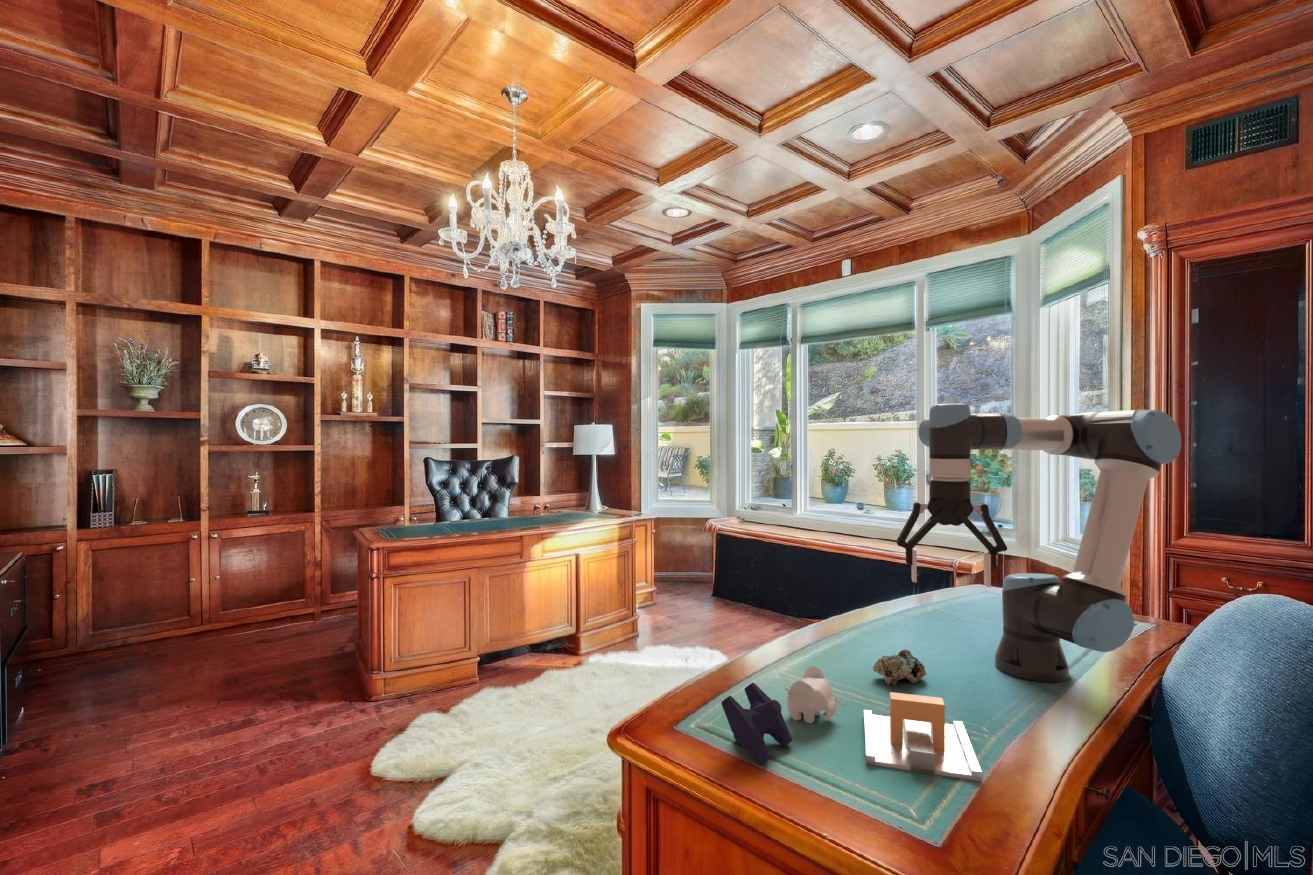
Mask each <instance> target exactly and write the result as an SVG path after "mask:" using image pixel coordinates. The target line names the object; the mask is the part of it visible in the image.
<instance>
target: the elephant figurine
mask: <svg viewBox="0 0 1313 875" xmlns="http://www.w3.org/2000/svg"><path fill="white" fill-rule="evenodd" d="M782 688H783V689H785V690H786V691H787V695H788V696H787V700H786V704H787V705H786V707H787V710H788V713H789V716H790V717H791V719H792V720H795V721H801V720H802V718H803V720H804V722H805V723H808V724H812V723H814V722H815V717H816V716H819V715H820V713H821V712H823V713H822V715H821V717H822V719H823V720H826V721H827V720H828V721H829V720H831V719H832V717H833V716H834V715H835V716H836V717H839V715H838V714H837V713H836V711H837V704H839V705H840V706H841V707H842V708H843V709H845V707H844V705H843V703H842V702H841V701H840V700H839V699H838V698H837V697H836V696H834V695H833V693H832V690H831V685H830V683H829V681H827V680H826V679H825V675H824V673H823V671H822V670H821V668H819V667H816V666H814V665H812V666H810V667H808V668H807V669H806V670H805V671H804V674H803V677H802V679H800V680H797V681H795V682H794V683H792V685H791V686H790V688H789V687H787V686H783V687H782ZM802 714H803V715H802Z"/></svg>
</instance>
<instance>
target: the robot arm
mask: <svg viewBox="0 0 1313 875" xmlns="http://www.w3.org/2000/svg"><path fill="white" fill-rule="evenodd" d="M918 438H919V440H920V442H921V443H922V444H923V445H924V446H926V447H928V448H929V450H928V451H929V477H930V478H932V479H931V480H930V481H929V500H928V503H923V502H919V501H917V500H916V501H913V504H912V511H911V513H910V515H909V516H908V519H907V521H906V523H905V525H904V526H903V528H902V530H901V531H900V533H899V535H898V537H897V539H896V545H897V546H898V547H900V548H901V547H902V548H904V549H905V562H906V565H907V566H911V570H910V571H911V581H912V583H917V582H918V579H917V578H918V575H917V574H918V572H917V568H918V566H917V562H918V561H917V560H918V558H917V555H918V554H917V551H918V550H917V549H916V548H915V547H916V546H917V545H918V544H919V543H920V542H921V541H922V539H924V537H925V536H926V535H927V534H929V532H930V531H931V530H932V529H933V528H934V527H936V525H937V524H940V525H942V526H950V525H952V526H960V525H962V524H964V526H965V527H967V528H966V529H968V530H969V531H970V532H971V533H972V534H973V536H975V538H976V539H977V540H978V541H979V542H980V543H981V544H982V546H984V547H985V548H986V550H987V551H983V584H984V586H985V587H987V588H992V571H993V570H995V571H996V569H997V567H998V566H997V565H998V564H997V561H998V560H997V559H998V558H997V555H998V553H1001V552H1006V551H1008V546H1007V545H1006V543H1005V541H1004V539H1003V537H1002V535H1001V534H1000V532H999V530H998V528H997V527H996V525H995V523H994V521H993V519H992V518H991V516H990V511H989V510H990V508H989V506H988V504H986V503H983V502H981V503H980V504H979V503H978V504H972V502H971V482H970V480H968V479H970V478H971V451H974V450H980V451H981V450H986V451H987V450H992V451H993V450H994V451H995V450H997V451H998V450H999V451H1003V450H1010V451H1011V450H1013V451H1014V450H1015V451H1016V450H1019V451H1043V452H1045V453H1046V454H1049V455H1055V456H1058V455H1059V456H1068V457H1073V458H1081V459H1085V460H1094V464H1095V465H1096V467H1097V468H1098V470H1099V471H1100V472H1099V475H1098V479H1097V482H1096V486H1095V489H1094V493H1093V496H1092V500H1091V504H1090V508H1089V512H1088V514H1087V519H1086V522H1085V526H1084V530H1083V533H1082V537H1081V539H1080V540H1081V541H1080V544H1079V548H1078V552H1077V554H1076V559H1075V562H1074V566H1073V569H1072V571H1071V572H1069V573H1067V574H1064V575H1062V578H1061V581H1060V577H1059V576H1057V575H1055V574H1049V573H1037V572H1035V573H1034V572H1031V573H1030V572H1029V573H1028V572H1027V573H1023V572H1020V573H1009V574H1008V575H1006V576H1005V577H1004V579H1003V582H1002V584H1003V585H1002V590H1001V592H1002V594H1001V595H1002V596H1001V597H1002V637H1001V638H1000V641H999V644H998V646H997V648H996V652H995V654H994V665H995V666H996V668H997V669H998V670H1000V671H1001V672H1003V673H1005V674H1008V675H1011V676H1013V677H1016V678H1020V679H1024V680H1028V681H1034V682H1040V683H1058V682H1064V681H1066V680H1068V679H1069V677H1070V666H1069V664H1068V661H1067V658H1066V655H1065V653H1064V649H1063V647H1062V645H1061V640H1063V641H1066V642H1069V643H1071V644H1074V645H1076V646H1078V647H1080V648H1083V649H1088V650H1092V651H1095V652H1098V653H1109V652H1113V651H1116V650H1117V649H1119V648H1120V647H1122V646H1124V645H1125V643H1127V641H1128V640H1129V638H1130V637H1131V635H1132V632H1133V630H1134V628H1135V617H1134V616H1133V615H1134V612H1133V609H1132V608H1131V606H1130V605H1128V603H1126V598H1127V593H1126V592H1125V591H1124V589H1123V588H1122V587H1121V582H1122V579H1123V575H1124V571H1125V567H1126V563H1127V559H1128V556H1129V552H1130V548H1131V545H1132V541H1133V537H1134V534H1135V530H1136V526H1137V522H1138V519H1139V515H1140V511H1141V508H1142V503H1143V501H1144V496H1145V492H1146V488H1147V484H1148V481H1149V480H1151V479H1154V478H1155V477H1157V476H1159V475H1160V470H1161V467H1162V465H1166V464H1169V463H1172V462H1174V461H1175V459H1177V458H1178V456H1179V455H1180V453H1181V449H1182V437H1181V432H1180V429H1179V427H1178V425H1177V422H1176V421H1175V420H1174V419H1173V418H1172V417H1171V416H1170V414H1167V413H1166V412H1164V411H1162V410H1156V409H1143V408H1141V409H1139V408H1138V409H1131V410H1128V409H1127V410H1108V411H1107V410H1105V411H1102V410H1101V411H1089V412H1080V413H1073V414H1064V415H1058V414H1053V415H1049V416H1047V417H1045V418H1027V417H1026V418H1025V417H1016V416H1014V415H1013V414H1010V413H1001V412H999V413H972V412H971V407H970V405H969V404H968V403H941V404H940V403H938V404H933V405H932V406H931V407H930V408H929V416H928V417H925V418H924V419H923V420H922V421H921V422H920V424H919V426H918ZM926 510H927V511H928V512H929V514H931V516H930V517H929V518H928V519H927V520H926V521H925V523H924V524H923V525H921V526H920V528H919V529H918V530H917V531H916V532H915V533H914V534H913V536H911V537H910V538H909V540H908V541H907V539H908V537H909V535H910V534H911V532H912V530H913V528H914V527H915V526H914V525H915V524H916V522H917V521H918V520H919V516H920V514H924V511H926ZM973 511H975V512H976V514H977V515H978V516H980V517H981V519H982V521H983V523H984V524H985V526H986V528H987V530H988V531H989V534H990V536H991V537H992V539H993V542H994V543H995V545H993V544H992V543H991V541H989V540H988V538H987V537H986V536H985V535H984V534H983V533H982V532H981V531H980V529H978V527H976V526H975V524H974V523H973V522H972V521H971V519H970V518H969V517H970V516H971V514H972V513H973Z"/></svg>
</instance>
